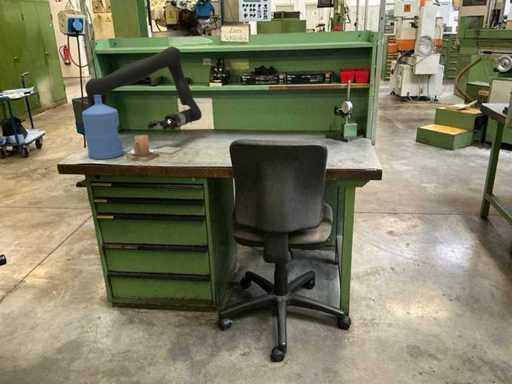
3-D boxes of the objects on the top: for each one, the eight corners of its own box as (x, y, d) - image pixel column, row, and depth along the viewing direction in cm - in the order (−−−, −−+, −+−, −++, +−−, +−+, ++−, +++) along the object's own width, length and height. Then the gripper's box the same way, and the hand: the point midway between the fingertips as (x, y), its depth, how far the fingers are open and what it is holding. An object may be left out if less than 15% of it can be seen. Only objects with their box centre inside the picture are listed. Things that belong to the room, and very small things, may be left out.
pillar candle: (131, 159, 188) (128, 138, 185) (142, 155, 195) (139, 134, 192) (141, 161, 186) (139, 139, 182) (152, 156, 193) (150, 135, 190)
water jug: (104, 161, 186) (95, 98, 177) (81, 157, 194) (71, 96, 184) (130, 153, 199) (122, 93, 189) (107, 149, 206) (99, 92, 197)
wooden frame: (127, 159, 189) (126, 156, 188) (141, 153, 198) (141, 150, 197) (145, 161, 185) (145, 158, 185) (159, 155, 194) (159, 152, 193)
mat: (153, 152, 200) (153, 151, 199) (165, 147, 208) (165, 146, 208) (171, 154, 196) (170, 152, 196) (182, 149, 204) (182, 147, 204)
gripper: (162, 112, 212) (142, 118, 198) (186, 113, 207) (167, 119, 193) (164, 127, 215) (144, 134, 201) (187, 128, 210) (169, 135, 196)
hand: (156, 127), depth 197 cm, fingers open, 8 cm apart
